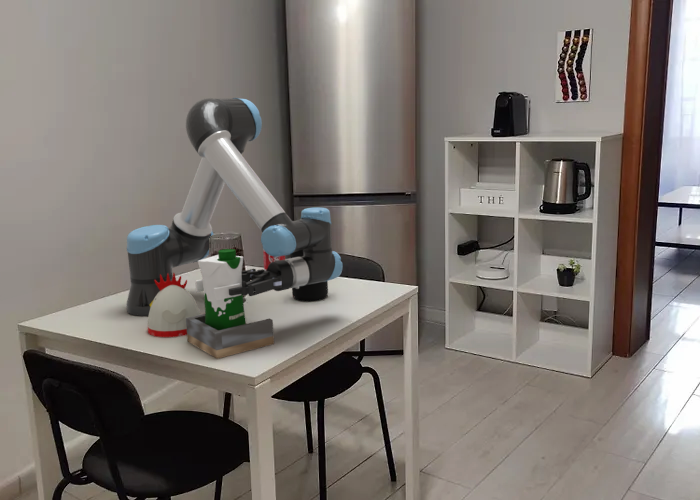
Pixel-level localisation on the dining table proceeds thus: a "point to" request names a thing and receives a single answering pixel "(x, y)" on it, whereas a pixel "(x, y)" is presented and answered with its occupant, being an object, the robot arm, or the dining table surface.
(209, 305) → the soya milk
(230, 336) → the dock
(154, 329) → the kitchen timer
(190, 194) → the robot arm
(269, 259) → the soda can
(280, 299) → the dining table surface
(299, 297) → the coffee jar
